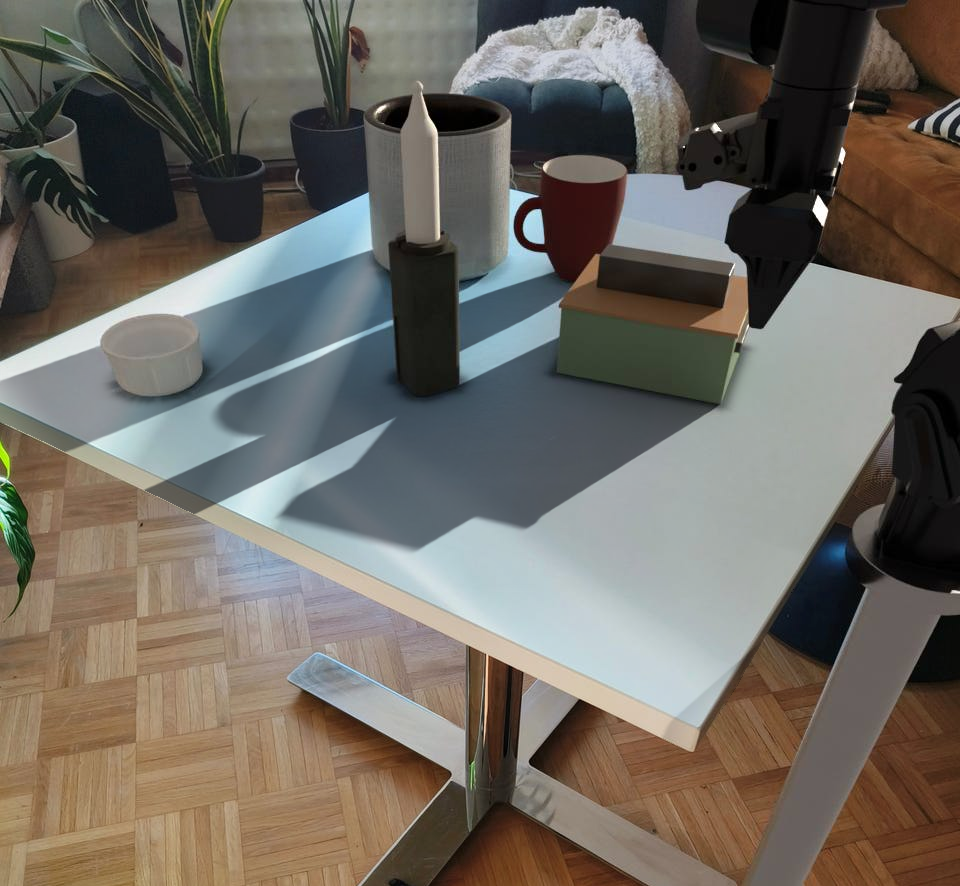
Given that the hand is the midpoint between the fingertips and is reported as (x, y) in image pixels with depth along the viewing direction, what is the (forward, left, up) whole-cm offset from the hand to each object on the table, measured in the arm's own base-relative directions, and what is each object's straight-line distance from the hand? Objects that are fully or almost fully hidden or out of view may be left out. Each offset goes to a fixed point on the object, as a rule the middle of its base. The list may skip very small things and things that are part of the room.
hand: (764, 304), depth 72 cm
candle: (+29, +2, -12) cm, 31 cm away
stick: (+10, -10, -5) cm, 15 cm away
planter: (+39, -25, -12) cm, 48 cm away
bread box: (+10, -10, -12) cm, 18 cm away
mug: (+24, -26, -12) cm, 37 cm away
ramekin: (+53, +11, -12) cm, 55 cm away
